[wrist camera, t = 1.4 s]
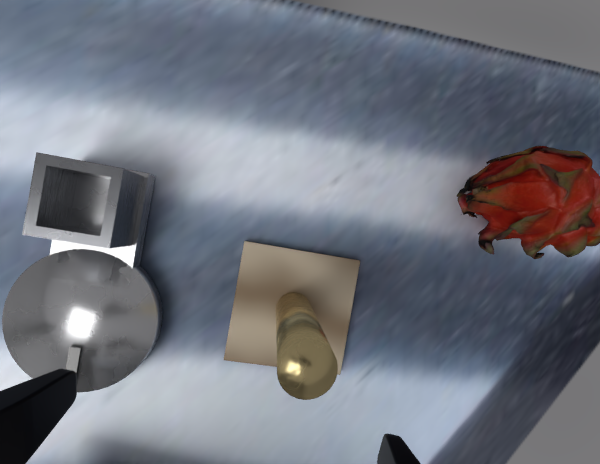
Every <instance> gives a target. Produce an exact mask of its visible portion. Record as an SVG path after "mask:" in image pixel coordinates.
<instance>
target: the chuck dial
mask: <svg viewBox="0 0 600 464" xmlns="http://www.w3.org/2000/svg"><path fill="white" fill-rule="evenodd" d="M154 182H155V176H154V175H151V174H149V173H143V172H138V171H133V170H127V169H123V168H118V167H113V166H107V165H102V164H96V163H91V162H86V161H80V160H75V159H70V158H64V157H59V156H53V155H48V154H43V153H36V158H35V164H34V170H33V176H32V181H31V187H30V193H29V199H28V204H27V210H26V216H25V222H24V227H23V233H22V235H28V236H34V237H40V238H47V239H52V245H51V250H50V255H49V256H46V257H44V258H42V259H41V260H39V261H37V262H35V263H34V264H33V265H31V266H30V267H29V268H27V269H26V270H25V271H24V272H23V273H22V274H21V275H20V277H19V278H18V279H17V280H16V282H15V283H14V285H13V286H12V288H11V290H10V292H9V294H8V296H7V299H6V301H5V305H4V310H3V318H2V324H3V334H4V339H5V342H6V345H7V348H8V350H9V352H10V354H11V356H12V357H13V359H14V360H15V362H16V363H17V364H18V365H19V367H20V368H21V369H22V370H23V371H24V372H25V373H27V374H28V375H29V376H30V377H32V378H33V379H34V378H36V377H39V376H41V375H44V374H47V373H49V372H52V371H55V370H57V369H68V370H73V371H75V372H76V375H77V392H89V391H94V390H99V389H102V388H105V387H108V386H110V385H113V384H115V383H117V382H119V381H120V380H122V379H123V378H125V377H126V376H128V375H129V374H130V373H131V372H133V371H134V370H135V369H136V368H137V367H138V366H139V365H140V363H141V362H142V361H143V360H144V359H145V358H146V357H147V356H148V355H149V353H150V352H151V351H152V349H153V347H154V345H155V344H156V342H157V339H158V337H159V334H160V330H161V326H162V317H163V315H162V304H161V299H160V295H159V292H158V290H157V288H156V286H155V283H154V282H153V280H152V279H151V277H150V276H149V275H148V274H147V272H146V271H145V270H144V269H143V268H142V267H141V266H140V262H141V256H142V250H143V245H144V239H145V233H146V228H147V222H148V216H149V210H150V205H151V199H152V193H153V187H154Z"/></svg>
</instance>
